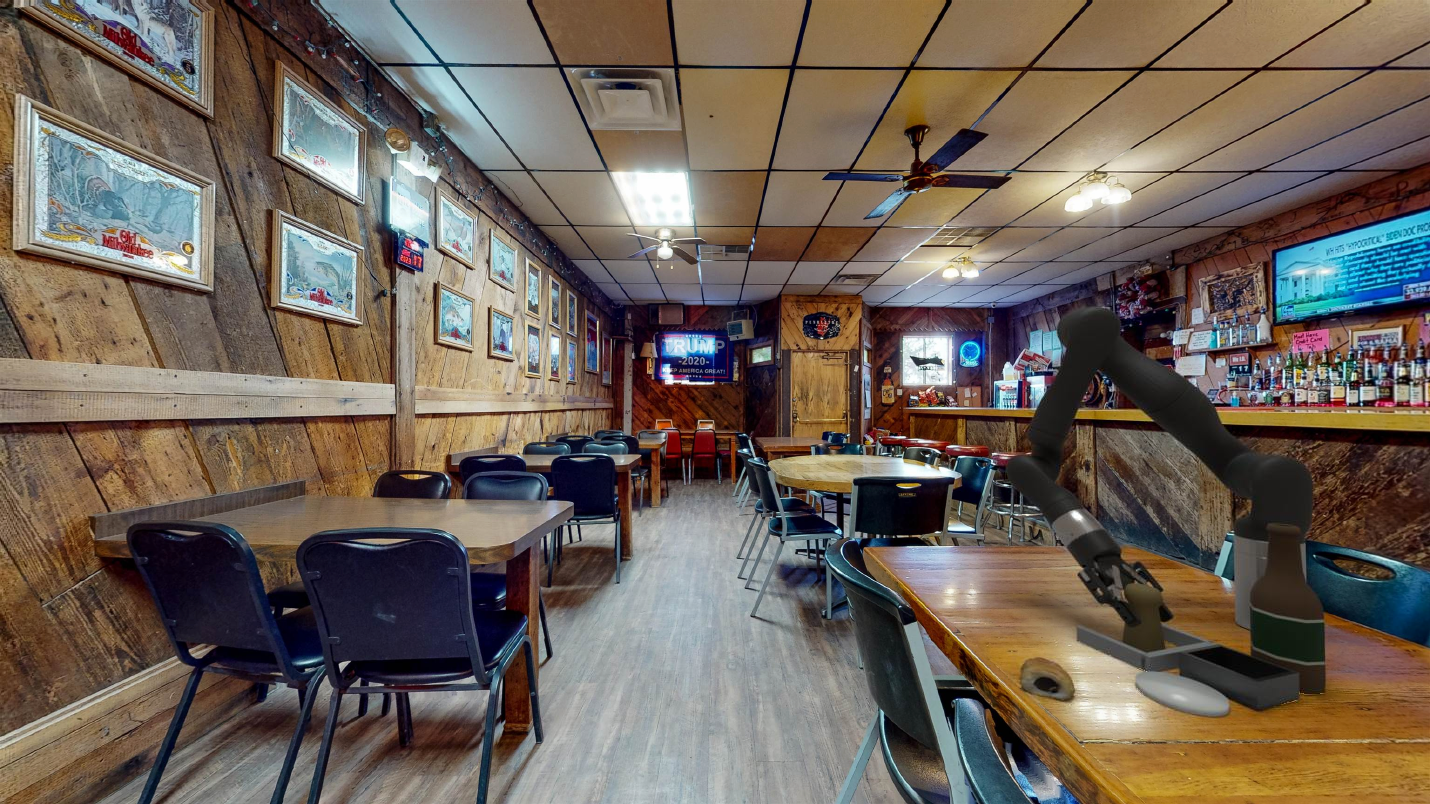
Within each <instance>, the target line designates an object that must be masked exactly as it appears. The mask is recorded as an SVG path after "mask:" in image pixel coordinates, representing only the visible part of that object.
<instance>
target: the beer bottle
mask: <svg viewBox="0 0 1430 804" xmlns="http://www.w3.org/2000/svg"><path fill="white" fill-rule="evenodd" d="M1266 530H1267V531H1269V539H1268V554H1267V565H1266V569H1265V574H1264V575H1263V576H1261V577H1260V578H1259V579H1258V580H1257V581H1256V582H1255V584H1254V585H1253V587H1252V589H1251V593H1250V630H1249V632H1250V633H1249V636H1250V642H1249V643H1250V655H1251V656H1254V657H1257V658H1260V659H1262V660H1265V661H1268V662H1271V663H1274V664H1276V665H1279V666H1282V667H1285V668H1288V669H1290V670H1293V671H1296V672H1299V692H1300V693H1304V694H1320V693H1324V694H1325V693H1326V682H1327V676H1326V672H1327V671H1326V670H1327V669H1326V632H1325V631H1326V629H1325V627H1326V625H1325V612H1324V608H1323V607H1324V606H1323V605H1322V602H1321V600H1320V599H1319V596H1318V594H1316V592H1315V591H1314V590H1313V589H1312V587H1311V586H1310V585H1309V583H1307V579H1306V580H1305V576H1304V573H1303V566H1302V557H1301V548H1300V539H1299V536H1301V535H1302V532H1301V530H1300V528H1299V527H1297V526H1294V525H1288V524H1279V523H1271V524H1268V525H1267V528H1266Z"/></svg>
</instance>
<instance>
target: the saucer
mask: <svg viewBox="0 0 1430 804" xmlns="http://www.w3.org/2000/svg"><path fill="white" fill-rule="evenodd" d="M1136 686H1137V687H1136ZM1135 687H1136V689H1137V688H1138V689H1139V690H1140V691H1141V692H1142V693H1143V695H1144V694H1145V695H1146V696H1145V695H1144V696H1145V697H1147V696H1148V697H1149V699H1150V700H1152V701H1153V702H1156V703H1158V704H1160V705H1163V706H1165V707H1167V708H1169V709H1173V710H1176V711H1179V712H1182V713H1185V714H1186V713H1187V714H1191V715H1195V716H1200V717H1208V718H1218V717H1219V718H1221V717H1224V716H1227V715H1228V714H1229V713H1230V701H1229V699H1228V698H1226V697H1225V696H1224V695H1223V694H1221V693H1220V692H1218V691H1217V690H1215V689H1213V688H1211V687H1209V686H1207V685H1205V684H1203V683H1200V682H1198V681H1195V680H1192V679H1189V678H1186V677H1182V676H1180V675H1177V674H1174V673H1169V672H1163V671H1159V672H1154V671H1147V672H1146V671H1140V672H1139V673H1137V674H1136V675H1135ZM1138 689H1137V690H1138ZM1139 690H1138V691H1139ZM1140 691H1139V692H1140ZM1141 692H1140V693H1141ZM1142 693H1141V694H1142ZM1148 697H1147V698H1148Z"/></svg>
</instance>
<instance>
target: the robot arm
mask: <svg viewBox="0 0 1430 804" xmlns="http://www.w3.org/2000/svg"><path fill="white" fill-rule="evenodd" d="M1121 333H1122V321H1121V320H1120V317H1119V316H1118V314H1117V313H1116V312H1114V311H1113V310H1112V309H1111V308H1107V307H1104V306H1090V307H1083V308H1077V309H1075V310H1072V311H1069V312H1068V313H1066V314H1065V315H1063V316H1062V317H1061V318H1060V319H1059V321H1058V323H1057V326H1056V335H1057V338H1058V341H1059V343H1060V344H1061V345H1062V346H1063V347H1064V348H1065V352H1064V355H1063V359H1062V362H1061V364H1060V367H1059V369H1058V371H1057V373H1056V375H1055V377H1054V378H1053V380H1052V382H1051V383H1050V385H1049V386H1048V388H1047V389H1046V391H1045V393H1044V394H1043V395H1042V397H1041V399H1040V400H1039V403H1038V404H1037V406H1036V408H1035V411H1034V415H1033V416H1032V418H1031V421H1030V424H1029V426H1028V428H1027V432H1026V439H1027V441H1029V442H1030V443H1031V444H1032V448H1031V449H1032V450H1031V454H1024V453H1022V454H1021V453H1020V454H1015V455H1013V456H1011V457H1010V458H1009V459H1008V461H1007V463H1006V465H1005V472H1006V477H1007V479H1008V480H1009V482H1010V483H1011V485H1012V486H1013V487H1014V488H1015V489H1016V490H1017V491H1018V492H1019V493H1020V494H1021V495H1022V496H1023V497H1024V498H1025V499H1027V500H1028V501H1029V502H1030V503H1031V504H1033V506H1035V507H1036V508H1037V509H1038V510H1039V511H1040V513H1041V514H1042V516H1043V517H1044V518H1045V520H1047V522H1048V523H1049V525H1050V527H1051V528H1052V529H1053V531H1054V532H1055V534H1056V535H1057V537H1058V539H1059V540H1060V541H1061V543H1062V545H1064V547H1065V548H1066V549H1067V551H1068V552H1069V553H1070V554H1071V556H1072V557H1073V559H1075V562H1077V564H1078V565H1079V566H1080V568H1082V570H1080V571H1078V572H1077V577H1078V578H1079V580H1080V581H1081V582H1082V583H1083V585H1084V586H1085V588H1086V589H1087V590H1088V591H1089V593H1091V595H1092V597H1093V598H1094V599H1095V601H1096V602H1097V603H1098V604H1100V605H1104V604H1106V605H1108V606H1109V607H1110V608H1113V609H1114V611H1115V612H1116V613H1117V615H1118V616H1119V617H1120V618H1121V620H1122V621H1123V622H1124V624H1125V623H1126V624H1127V625H1128V626H1129V627H1136V626H1137V625H1139V624H1141V620H1140V618H1139V617H1138V616H1137V615H1136V613H1135V612H1134V611H1133V609H1132V608H1131V607H1130V606H1129V604H1128V601H1127V600H1125V598H1124V594H1123V591H1124V588H1125V587H1126V585H1128V584H1132V583H1137V584H1145V585H1149V584H1150V586H1152V587H1155V588H1156V589H1158V590H1159V591H1160V592H1161V593H1164V589H1163V587H1162V586H1161V584H1160V583H1159V582H1158V581H1157V580H1156V579H1155V578H1154V576H1153V575H1152V574H1151V572H1149V571H1148V569H1147V568H1146V567H1145V566H1144V564H1143V563H1142V562H1141V561H1138V560H1137V561H1135V562H1133V563H1128V562H1126V560H1124V558H1122V552H1123V550H1122V548H1121V546H1119V544H1118V543H1117V541H1115V540H1114V538H1113V537H1112V536H1111V535H1110V534H1109V532H1108V531H1107V530H1106V528H1104V527H1103V525H1102V524H1101V523H1100V522H1099V521H1098V520H1097V519H1096V518H1095V516H1094V515H1093V514H1092V513H1090V512H1089V511H1088V510H1087V508H1086V507H1085V506H1084V505H1083V503H1081V501H1080V500H1079V499H1078V498H1077V496H1075V494H1074V493H1072V492H1071V490H1069V489H1067V488H1065V487H1062V486H1061V485H1059V484H1057V483H1056V481H1057V480H1058V478H1059V477H1060V474H1061V471H1062V466H1063V457H1064V445H1065V441H1066V440H1067V438H1068V436H1069V433H1070V432H1071V431H1070V430H1071V429H1072V425H1073V423H1074V420H1075V418H1076V416H1077V414H1078V410H1079V408H1080V406H1081V404H1082V401H1083V400H1084V397H1085V395H1086V394H1087V392H1088V389H1089V388H1090V386H1091V384H1092V381H1093V380H1094V378H1095V376H1096V374H1097V373H1098V371H1099V372H1100V373H1101V374H1102V375H1104V377H1106V378H1107V379H1108V380H1109V381H1110V382H1111V383H1112V384H1113V385H1114V387H1116V388H1117V389H1118V390H1119V391H1120V392H1121V393H1122V394H1123V395H1124V396H1125V397H1126V398H1128V400H1130V401H1131V402H1132V403H1133V404H1134V405H1135V406H1136V407H1137V408H1138V409H1139V410H1140V411H1141V412H1143V413H1144V414H1145V415H1146V416H1147V417H1148V418H1150V420H1152V421H1153V422H1155V423H1156V424H1157V425H1158V426H1159V427H1161V428H1162V429H1163V430H1165V432H1167V433H1168V434H1169V435H1170V436H1172V437H1173V438H1174V439H1175V441H1178V443H1179V444H1181V445H1182V446H1183V447H1185V448H1187V450H1188V451H1190V453H1192V454H1193V455H1195V456H1196V457H1197V458H1198V460H1200V461H1201V462H1202V463H1203V464H1204V466H1205V467H1207V469H1208V470H1209V471H1210V472H1211V473H1212V474H1213V475H1214V476H1215V477H1216V478H1217V479H1218V481H1220V483H1222V485H1224V487H1226V488H1227V489H1228V490H1229V491H1230V492H1232V493H1233V494H1235V495H1237V496H1239V497H1241V498H1244V499H1247V500H1251V503H1250V505H1251V507H1250V512H1249V514H1248V515H1247V516H1245V517H1241V518H1238V519H1235V520H1234V523H1233V551H1234V552H1233V554H1234V555H1233V559H1234V560H1233V561H1234V562H1233V563H1234V565H1233V566H1234V567H1233V568H1234V570H1233V571H1234V618H1235V619H1234V620H1235V623H1236V624H1237V625H1239V626H1241V627H1243V628H1245V629H1247V630H1249V631H1250V593H1251V589H1252V587H1253V585H1254V584H1255V582H1256V581H1257V580H1258V579H1259V578H1260V577H1261V576H1263V575H1264V574H1265V569H1266V565H1267V554H1268V539H1269V531H1267V530H1266V528H1267V525H1268V524H1271V523H1279V524H1288V525H1294V526H1297V527H1299V528H1300V530H1301V532H1302V535H1301V536H1299V539H1300V548H1301V557H1302V566H1303V573H1304V576H1305V580H1306V581H1307V558H1306V556H1307V555H1306V553H1307V552H1306V535H1307V533H1309V531H1310V528H1311V526H1312V522H1313V509H1314V508H1313V506H1314V481H1313V475H1312V473H1311V472H1310V470H1309V468H1308V467H1307V466H1306V465H1305V464H1304V463H1303V462H1302V461H1300V460H1299V459H1296V458H1293V457H1290V456H1286V455H1278V454H1267V453H1259V452H1256V451H1255V450H1253V449H1252V448H1250V447H1248V446H1247V445H1246V444H1244V443H1243V442H1241V440H1239V439H1237V437H1235V436H1233V435H1232V434H1231V432H1229V431H1228V430H1227V429H1226V427H1225V426H1224V425H1223V422H1222V421H1221V418H1220V415H1219V413H1218V411H1217V409H1216V407H1215V405H1214V403H1213V402H1212V400H1211V399H1210V398H1209V397H1208V395H1206V394H1205V393H1204V392H1203V391H1201V390H1200V389H1199V388H1198V387H1197V386H1196V385H1194V384H1193V383H1192V382H1190V380H1188V379H1187V378H1186V377H1185V376H1183V375H1182V374H1181V373H1179V372H1178V371H1176V370H1173V368H1170V367H1169V366H1167V365H1165V364H1163V363H1161V362H1159V361H1157V360H1156V359H1154V358H1151V357H1150V356H1148V355H1146V354H1144V353H1142V352H1140V350H1138V349H1136V348H1134V347H1133V346H1132V345H1131V344H1129V343H1128V342H1127V341H1126V340H1125V339H1124V338H1123V337H1122V336H1121ZM1148 583H1149V584H1148ZM1098 589H1099V591H1100V592H1101V593H1100V592H1099V591H1098ZM1122 590H1123V591H1122ZM1159 614H1160V619H1161V623H1167V622H1170V621H1172V620H1174V617H1175V616H1174V614H1173V613H1172V611H1171V609H1169V608H1168V606H1167V605H1166V604H1165V603H1164V601H1163V602H1162V605H1161V606H1160V607H1159Z"/></svg>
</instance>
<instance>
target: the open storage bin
mask: <svg viewBox="0 0 1430 804" xmlns="http://www.w3.org/2000/svg"><path fill="white" fill-rule="evenodd" d="M1178 670H1179V676H1182V677H1186V678H1189V679H1192V680H1195V681H1198V682H1200V683H1203V684H1205V685H1207V686H1209V687H1211V688H1213V689H1215V690H1217V691H1218V692H1220V693H1221V694H1223V695H1224V696H1225V697H1226V698H1227V699H1228V700H1230V701H1232V702H1235V703H1238V704H1240V705H1241V706H1244V707H1246V708H1248V709H1251V710H1253V711H1256V712H1262V711H1265V710H1269V709H1272V707H1273V708H1275V707H1274V706H1277V707H1279V706H1278V705H1281V704H1284V703H1287V702H1292V701H1294V700H1298V699H1300V698H1301V697H1300V695H1301V694H1299V672H1296V671H1293V670H1290V669H1288V668H1285V667H1282V666H1279V665H1276V664H1274V663H1271V662H1268V661H1265V660H1262V659H1260V658H1257V657H1254V656H1251V654H1248V653H1246V652H1242V651H1239V650H1237V649H1233V648H1232V647H1229V646H1225V645H1224V644H1220V643H1218V644H1217V645H1212V646H1206V647H1201V648H1196V649H1190V650H1185V651H1180V652H1179V669H1178ZM1281 706H1282V705H1281Z"/></svg>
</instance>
